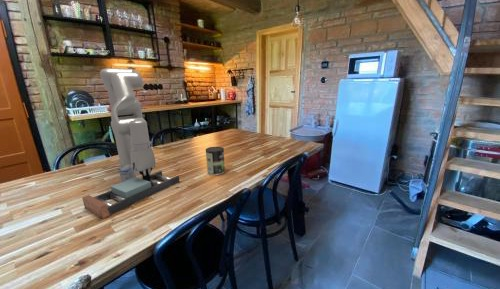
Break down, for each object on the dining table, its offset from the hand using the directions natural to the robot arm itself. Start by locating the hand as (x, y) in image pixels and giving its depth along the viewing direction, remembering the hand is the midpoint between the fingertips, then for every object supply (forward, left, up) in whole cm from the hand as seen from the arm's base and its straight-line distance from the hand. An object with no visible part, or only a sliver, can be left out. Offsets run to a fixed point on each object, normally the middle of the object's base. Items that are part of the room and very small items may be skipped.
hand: (147, 181), depth 109 cm
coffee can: (+16, +33, -4) cm, 37 cm away
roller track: (0, -6, -4) cm, 7 cm away
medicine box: (-15, -1, -4) cm, 16 cm away
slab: (0, -8, -1) cm, 8 cm away
